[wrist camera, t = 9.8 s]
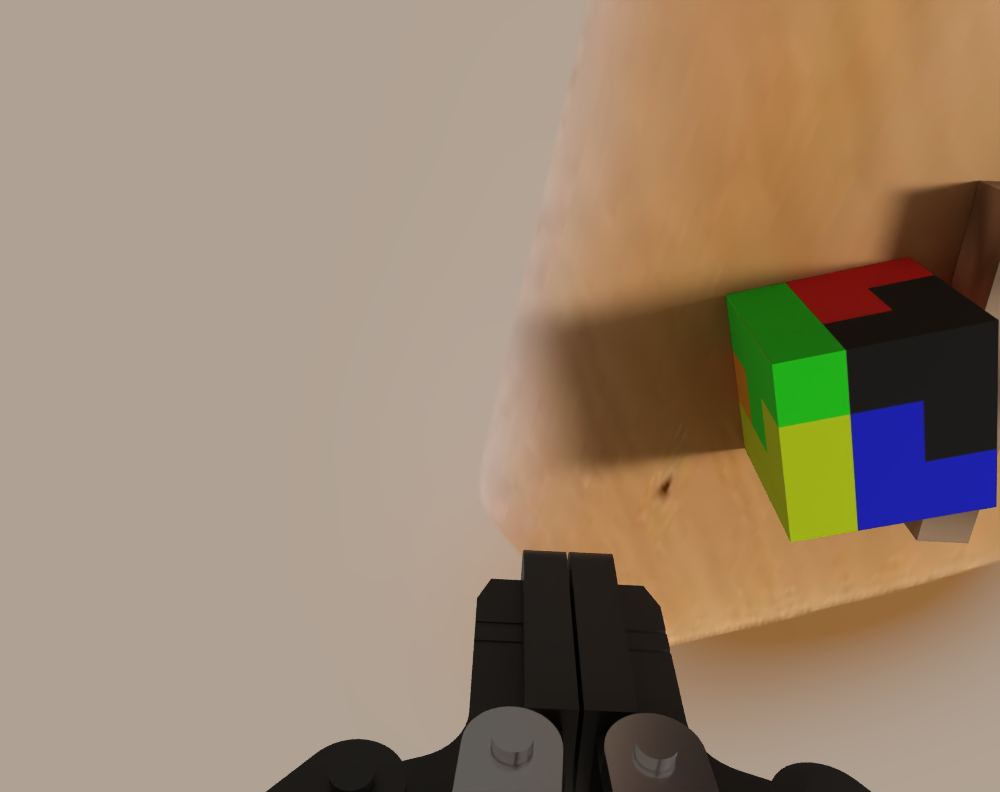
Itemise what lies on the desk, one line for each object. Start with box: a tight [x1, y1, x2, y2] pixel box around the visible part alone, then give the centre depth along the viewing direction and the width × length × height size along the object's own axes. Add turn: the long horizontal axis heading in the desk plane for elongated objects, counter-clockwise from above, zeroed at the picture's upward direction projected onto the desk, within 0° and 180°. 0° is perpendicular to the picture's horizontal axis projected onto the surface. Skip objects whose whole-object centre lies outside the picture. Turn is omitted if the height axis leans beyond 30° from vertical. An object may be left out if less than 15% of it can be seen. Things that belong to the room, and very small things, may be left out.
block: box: [905, 181, 1000, 543], centre depth 48 cm, size 20×3×4 cm, turn 178°
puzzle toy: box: [726, 257, 999, 542], centre depth 46 cm, size 10×10×10 cm
